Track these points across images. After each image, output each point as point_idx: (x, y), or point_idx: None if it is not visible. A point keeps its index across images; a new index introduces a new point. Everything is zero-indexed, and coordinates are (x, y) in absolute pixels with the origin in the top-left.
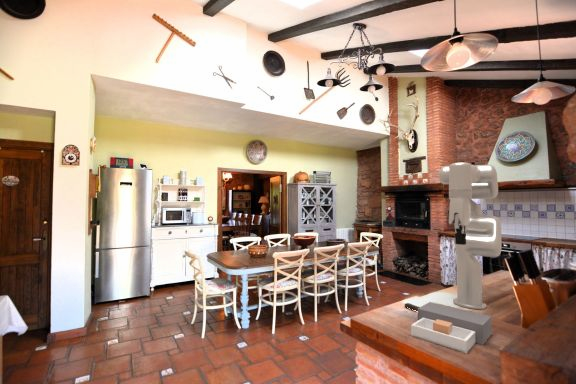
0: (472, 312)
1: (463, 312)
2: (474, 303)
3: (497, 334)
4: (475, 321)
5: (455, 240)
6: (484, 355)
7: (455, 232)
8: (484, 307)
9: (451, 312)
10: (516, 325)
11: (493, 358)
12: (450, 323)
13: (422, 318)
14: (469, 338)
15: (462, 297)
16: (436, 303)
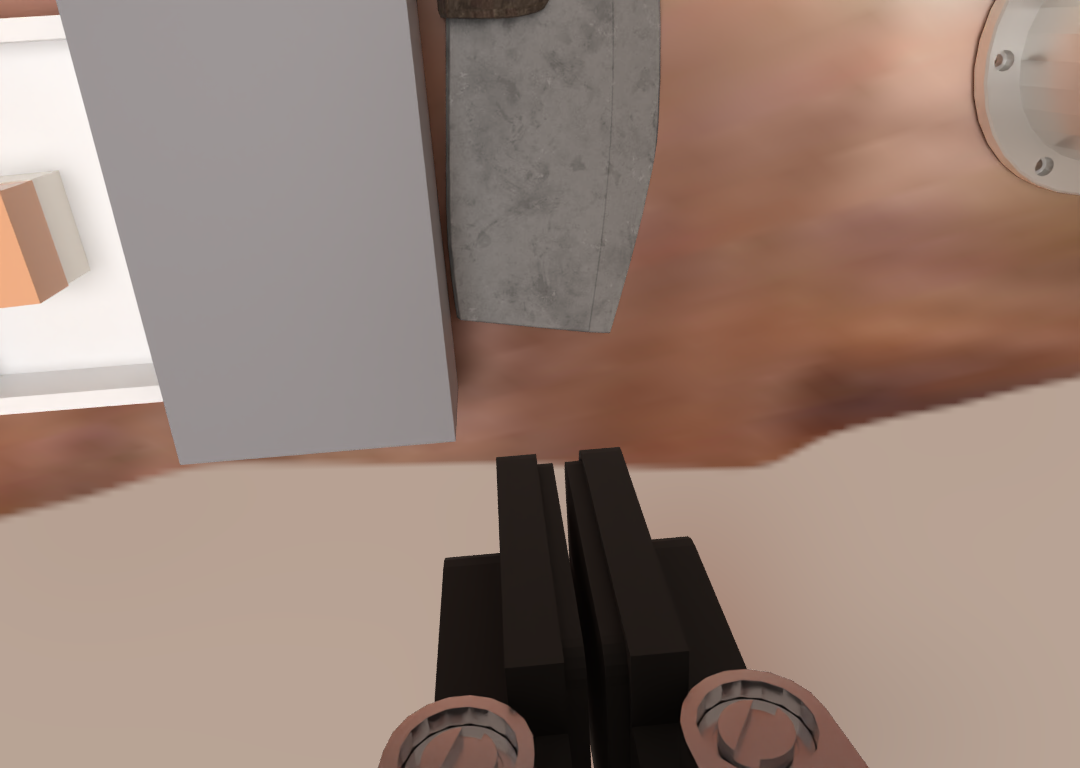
0: (419, 327)
1: (349, 283)
2: (1041, 127)
3: (488, 408)
4: (210, 410)
5: (501, 505)
6: (76, 451)
7: (395, 747)
8: (1055, 190)
9: (252, 218)
10: (778, 437)
11: (85, 488)
12: (13, 298)
13: (51, 23)
14: (28, 411)
15: (1073, 18)
16: (404, 4)
